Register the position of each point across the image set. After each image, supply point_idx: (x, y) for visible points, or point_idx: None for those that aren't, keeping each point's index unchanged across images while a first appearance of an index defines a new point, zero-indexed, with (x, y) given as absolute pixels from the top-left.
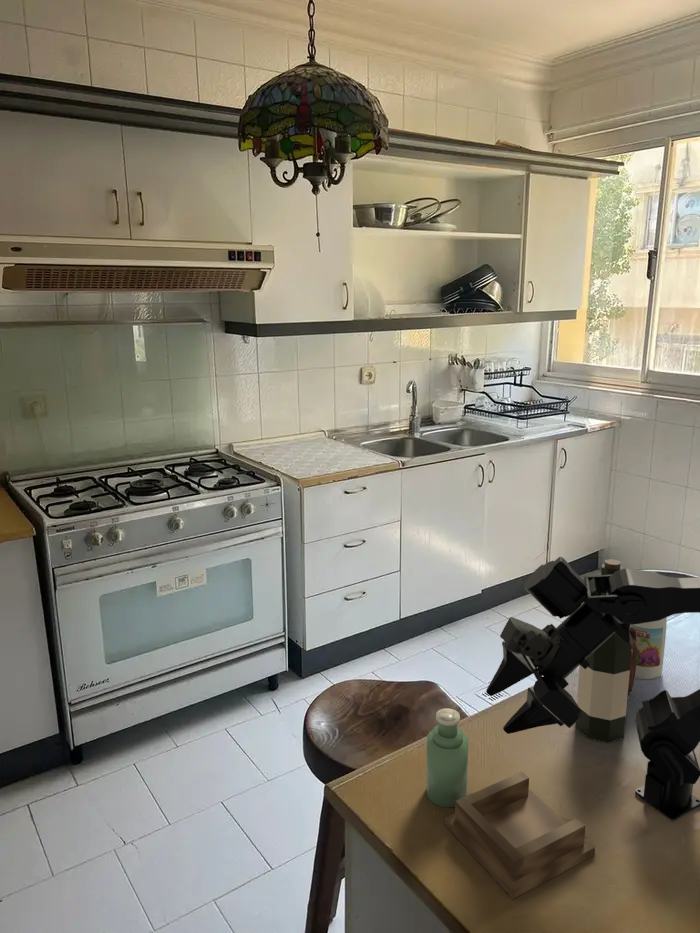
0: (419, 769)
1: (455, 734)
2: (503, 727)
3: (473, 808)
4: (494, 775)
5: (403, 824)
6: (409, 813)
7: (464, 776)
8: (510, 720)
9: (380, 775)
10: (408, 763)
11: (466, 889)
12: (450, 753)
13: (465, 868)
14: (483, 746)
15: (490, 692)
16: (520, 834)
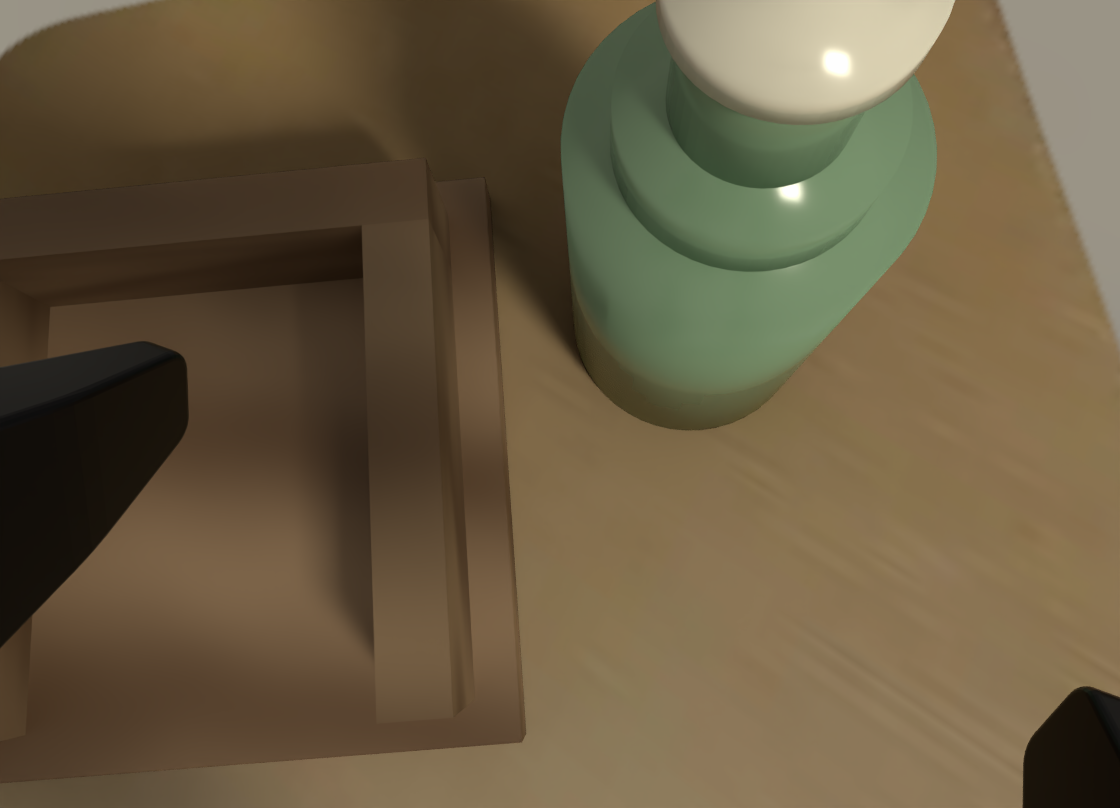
0: (924, 277)
1: (672, 118)
2: (167, 353)
3: (322, 219)
4: (706, 660)
5: (579, 32)
6: None
7: (581, 311)
8: (6, 388)
9: (953, 70)
10: (997, 245)
11: (137, 105)
12: (576, 84)
13: (226, 155)
14: (994, 772)
15: (1064, 748)
16: (197, 464)
